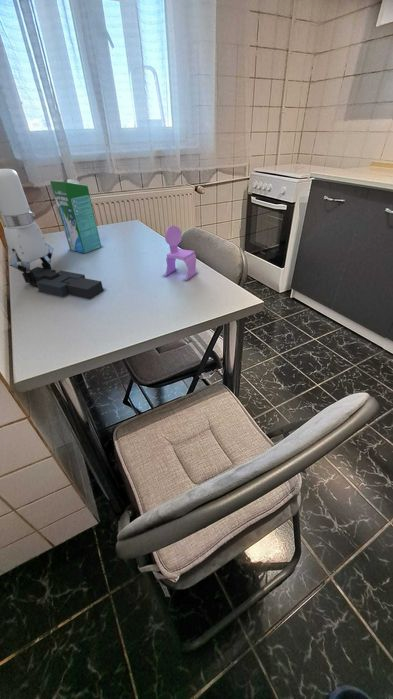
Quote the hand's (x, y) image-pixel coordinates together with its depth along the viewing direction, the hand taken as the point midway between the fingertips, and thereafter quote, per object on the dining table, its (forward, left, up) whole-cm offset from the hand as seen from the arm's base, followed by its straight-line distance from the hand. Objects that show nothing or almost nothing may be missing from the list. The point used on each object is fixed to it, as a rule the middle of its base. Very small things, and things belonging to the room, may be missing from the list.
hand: (41, 278), depth 94 cm
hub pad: (+9, 0, -1) cm, 9 cm away
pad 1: (+1, 0, -1) cm, 2 cm away
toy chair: (+39, +22, -2) cm, 45 cm away
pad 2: (+17, 0, -1) cm, 17 cm away
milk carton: (-11, +32, -2) cm, 34 cm away
